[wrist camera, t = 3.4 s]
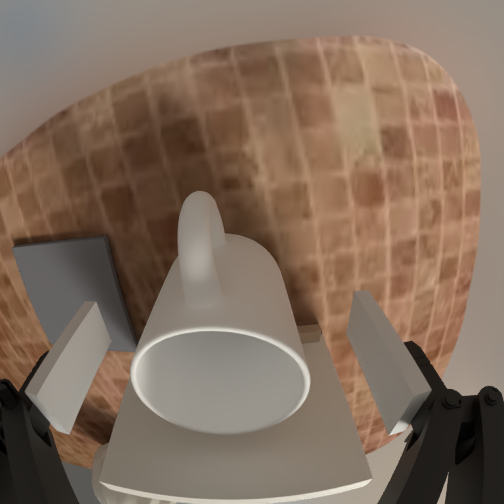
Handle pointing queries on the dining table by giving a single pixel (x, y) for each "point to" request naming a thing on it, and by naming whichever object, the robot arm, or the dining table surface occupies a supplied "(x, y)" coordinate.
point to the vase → (111, 499)
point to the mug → (220, 334)
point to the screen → (243, 449)
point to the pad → (75, 286)
